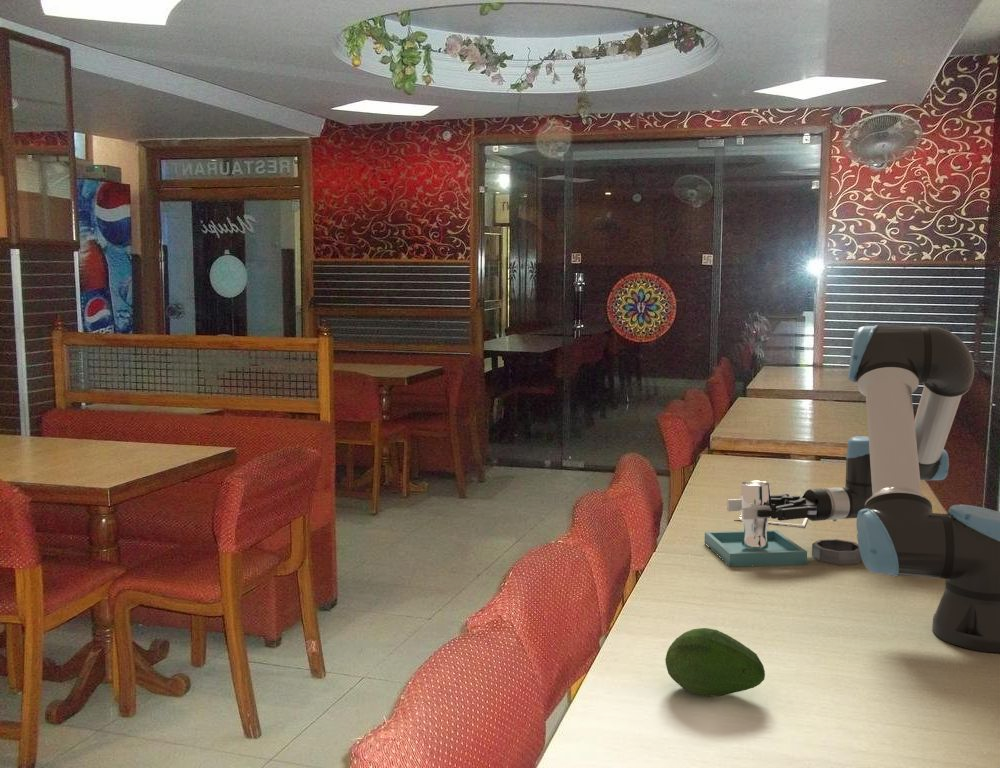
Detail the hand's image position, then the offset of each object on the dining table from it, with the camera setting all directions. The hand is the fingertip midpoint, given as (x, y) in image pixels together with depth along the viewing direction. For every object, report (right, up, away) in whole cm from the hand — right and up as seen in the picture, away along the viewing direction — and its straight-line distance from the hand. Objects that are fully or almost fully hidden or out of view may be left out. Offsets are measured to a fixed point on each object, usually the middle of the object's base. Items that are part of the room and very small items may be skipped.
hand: (735, 509), depth 217 cm
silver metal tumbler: (+5, -9, +2) cm, 11 cm away
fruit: (-21, -19, -71) cm, 77 cm away
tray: (+5, -11, +2) cm, 12 cm away
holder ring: (+23, -11, -1) cm, 26 cm away
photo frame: (+19, -8, +36) cm, 41 cm away
